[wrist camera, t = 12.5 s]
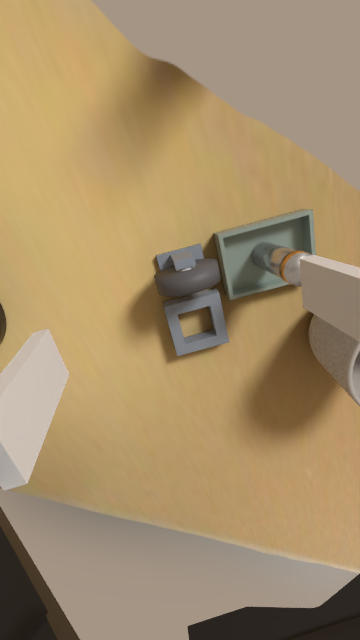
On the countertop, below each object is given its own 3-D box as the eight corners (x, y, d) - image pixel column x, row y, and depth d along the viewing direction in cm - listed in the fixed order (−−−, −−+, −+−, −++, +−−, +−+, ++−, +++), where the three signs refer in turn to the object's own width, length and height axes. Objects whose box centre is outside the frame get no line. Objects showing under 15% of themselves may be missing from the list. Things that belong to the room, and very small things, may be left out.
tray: (225, 294, 49) (230, 300, 46) (213, 233, 45) (218, 234, 42) (307, 272, 49) (317, 276, 46) (302, 209, 45) (312, 209, 43)
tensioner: (176, 349, 52) (182, 381, 42) (149, 257, 45) (151, 270, 36) (225, 335, 52) (243, 364, 42) (206, 241, 46) (221, 251, 36)
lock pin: (252, 270, 47) (287, 290, 36) (249, 244, 46) (283, 257, 35) (277, 264, 47) (319, 282, 36) (274, 237, 46) (317, 248, 35)
